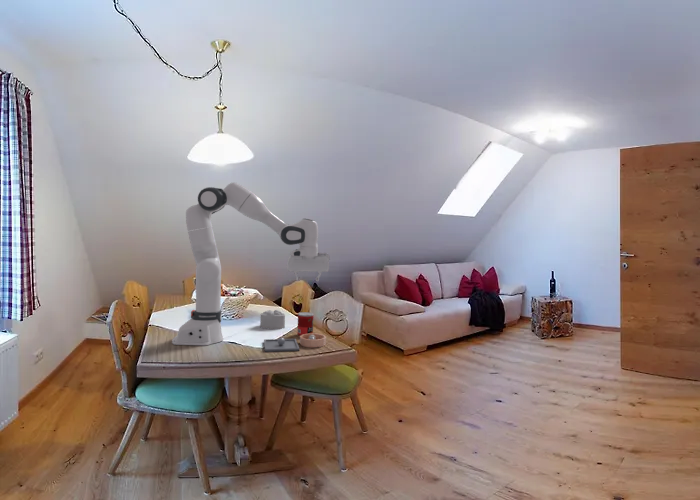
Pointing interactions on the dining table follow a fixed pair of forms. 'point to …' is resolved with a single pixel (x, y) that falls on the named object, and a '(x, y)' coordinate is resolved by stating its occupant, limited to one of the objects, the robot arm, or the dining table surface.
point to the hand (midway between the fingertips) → (307, 280)
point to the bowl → (315, 343)
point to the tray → (273, 345)
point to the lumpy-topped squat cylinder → (272, 319)
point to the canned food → (305, 323)
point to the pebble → (281, 341)
